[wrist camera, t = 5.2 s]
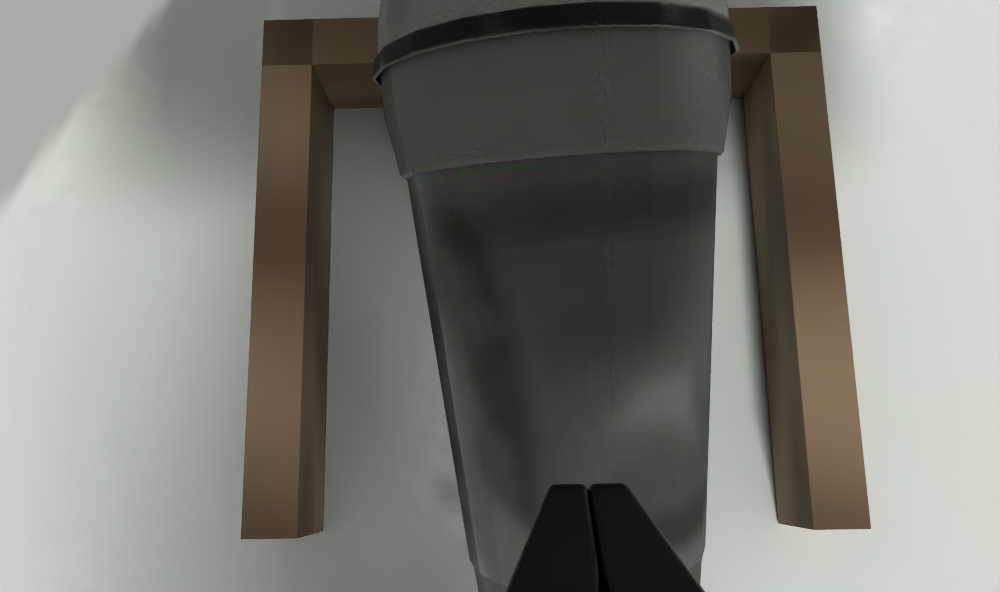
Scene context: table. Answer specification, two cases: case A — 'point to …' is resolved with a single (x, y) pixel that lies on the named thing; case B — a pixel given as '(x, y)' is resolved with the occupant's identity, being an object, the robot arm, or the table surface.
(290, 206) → the walnut bay
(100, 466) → the table surface
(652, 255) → the beverage cup
